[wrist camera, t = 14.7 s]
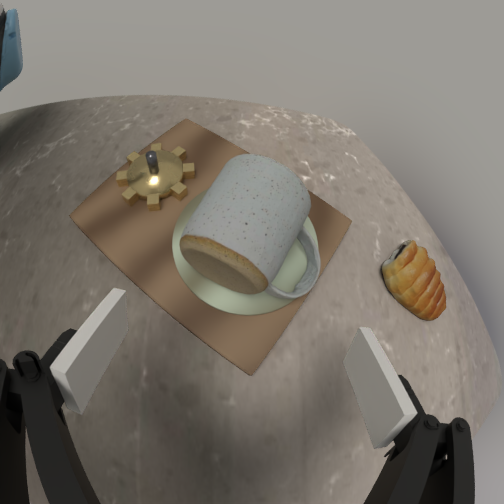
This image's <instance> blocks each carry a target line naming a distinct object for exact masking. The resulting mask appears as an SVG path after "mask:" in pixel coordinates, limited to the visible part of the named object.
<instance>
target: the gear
mask: <svg viewBox="0 0 504 504" xmlns="http://www.w3.org/2000/svg"><path fill="white" fill-rule="evenodd" d="M126 158H127V161H128V164H129V165H130V167H129V168H128V170H126V171H119V172H117V177H116V181H117V184H118V186H119V187H124V186H129V188H128V189H126V190H125V191H124V192H123V193H122V194H121V195H122V197H123V200H124V202H126V203H127V204H128V205H129V206H130V207H132V206H133V205H134V204H135V203H136V202H137V201H138V200H139V199H140V200H143V201H147V206H148V209H149V212H151V211H160V210H161V200H163V199H166V198H168V197H170V196H171V195H172V196H173V197H174V198H176V199H177V200H178V201H181V200H182V199H183V198H184V197H185V196H186V195H187V194H188V192H187V186H185V185H184V184H182V183H183V180H184V179H195V172H194V163H185V164H182V161H184V160H185V159H186V158H187V157H186V150H185V149H183V148H181V147H180V146H178V147H177V148H175V149H174V150H173V151H172V152H169V151H165V150H163V149H162V143H156V144H152V145H151V151H148V152H147V153H145V154H143V155H139V154H138V153H136V152H135V151H134V152H133V153H131V154H130V155H129V156H128V157H126Z"/></svg>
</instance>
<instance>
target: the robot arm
mask: <svg viewBox="0 0 504 504" xmlns="http://www.w3.org/2000/svg"><path fill="white" fill-rule="evenodd" d="M22 67H23V60H22V48H21V38H20V29H19V20H18V14H17V10H16V9H12V10H8V11H7V12H6V13H5V11H4V8H3V5H2V4H1V3H0V91H1V90H2V89H3V88H4V87H5V86H6V85H7V84H9V83H10V82H12V81H13V80H15V79H16V78H17V77H18V76H19V74H20V73H21V70H22ZM127 332H128V318H127V301H126V291H125V290H121V289H117V288H113V289H112V291H111V292H110V293H109V294H108V295H107V296H106V297H105V299H104V300H103V301H102V302H101V303H100V304H99V305H98V307H97V308H96V309H95V310H94V311H93V313H92V314H91V315H90V316H89V317H88V319H87V320H86V321H85V322H84V323H83V325H82V326H81V327H80V328H79V330H78V331H76V330H74V329H71V328H70V329H69V330H67V331H65V332H63V333H62V334H61V335H60V336H59V338H58V339H57V341H55V342H54V344H53V345H52V346H51V347H50V349H49V350H48V351H47V352H46V354H45V355H44V356H43V357H42V359H41V360H40V359H39V356H38V355H37V354H36V353H35V352H33V351H22V352H19V353H18V354H17V355H16V356H15V357H14V359H13V363H12V364H13V366H14V368H15V370H14V369H9V368H8V367H7V365H6V363H5V362H4V361H3V360H2V359H0V504H30V502H29V495H28V487H27V476H26V456H25V433H26V429H27V433H28V438H29V442H30V446H31V450H32V454H33V458H34V461H35V464H36V468H37V471H38V474H39V477H40V480H41V483H42V486H43V488H44V491H45V494H46V496H47V499H48V501H49V504H101V503H100V502H99V500H98V498H97V496H96V494H95V492H94V490H93V488H92V486H91V484H90V482H89V480H88V478H87V476H86V473H85V471H84V469H83V467H82V464H81V462H80V459H79V457H78V454H77V452H76V449H75V447H74V444H73V441H72V438H71V436H70V433H69V430H68V427H67V423H66V420H65V417H64V414H63V410H62V408H61V406H62V404H63V403H64V402H65V404H66V406H67V408H68V409H70V410H72V411H74V412H76V413H79V414H81V415H82V414H83V412H84V410H85V408H86V406H87V404H88V402H89V400H90V398H91V396H92V394H93V392H94V391H95V389H96V387H97V385H98V383H99V381H100V379H101V378H102V376H103V374H104V372H105V370H106V368H107V367H108V365H109V363H110V361H111V360H112V358H113V356H114V354H115V353H116V351H117V349H118V347H119V346H120V344H121V342H122V341H123V339H124V337H125V336H126V334H127ZM343 364H344V367H345V369H346V372H347V374H348V377H349V380H350V382H351V385H352V388H353V390H354V393H355V396H356V399H357V401H358V404H359V407H360V410H361V412H362V415H363V418H364V421H365V424H366V427H367V430H368V433H369V435H370V438H371V441H372V444H373V447H374V449H376V448H382V447H387V446H388V445H389V444H390V443H391V442H392V441H393V440H394V443H395V445H394V446H393V447H392V448H391V449H390V450H389V451H388V452H387V453H386V454H385V456H384V457H386V456H387V455H389V456H388V458H387V460H386V463H385V465H384V467H383V469H382V471H381V473H380V475H379V477H378V479H377V481H376V482H375V484H374V486H373V488H372V490H371V492H370V493H369V495H368V497H367V499H366V500H365V502H364V504H474V501H475V482H474V481H475V479H474V461H473V450H472V440H471V432H470V427H469V424H468V423H467V421H466V420H464V419H463V418H460V417H459V418H455V419H453V420H452V422H451V423H450V424H445V423H440V422H439V421H438V419H437V418H436V417H434V416H433V415H429V414H427V415H426V414H425V412H424V410H423V408H422V406H421V404H420V402H419V400H418V399H417V397H416V395H415V393H414V391H413V389H412V388H411V386H410V384H409V382H408V381H407V380H406V379H405V378H404V377H403V376H402V375H397V373H396V372H395V370H394V368H393V366H392V364H391V363H390V361H389V359H388V357H387V356H386V354H385V352H384V350H383V349H382V347H381V345H380V344H379V342H378V340H377V338H376V337H375V335H374V333H373V332H372V330H371V328H367V327H359V328H358V331H357V333H356V335H355V337H354V340H353V342H352V344H351V346H350V348H349V350H348V352H347V354H346V356H345V358H344V360H343ZM446 455H447V460H446Z"/></svg>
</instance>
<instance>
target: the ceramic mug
mask: <svg viewBox="0 0 504 504" xmlns="http://www.w3.org/2000/svg"><path fill="white" fill-rule="evenodd" d="M310 208H311V200H310V195H309V193H308V191H307V188H306V187H305V185H304V184H303V182H302V181H301V180H300V179H299V178H298V177H297V176H296V175H295V174H294V172H293V171H291V170H290V169H289V168H287V167H286V166H284V165H283V164H281V163H279V162H277V161H276V160H274V159H271V158H268V157H265V156H262V155H256V154H242V155H238V156H235V157H233V158H232V159H230V160H229V161H228V162H227V163H226V164H225V166H224V167H223V169H222V170H221V172H220V173H219V175H218V176H217V178H216V179H215V181H214V182H213V183H212V185H211V187H210V188H209V189H208V191H207V193H206V194H205V196H204V197H203V199H202V201H201V202H200V204H199V205H198V207H197V208H196V210H195V211H194V213H193V214H192V216H191V217H190V219H189V221H188V223H187V224H186V226H185V228H184V231H183V233H182V235H181V238H180V244H179V246H180V251H181V254H182V256H183V257H184V259H185V260H186V261H187V262H188V263H189V264H190V265H191V266H192V267H193V268H194V269H195V270H197V271H198V272H199V273H201V274H202V275H204V276H205V277H207V278H208V279H210V280H212V281H213V282H215V283H217V284H219V285H221V286H223V287H225V288H228V289H230V290H232V291H236V292H239V293H243V294H258V293H261V292H263V291H265V292H266V293H267V294H269V295H272V296H275V297H277V298H283V299H292V298H298V297H301V296H303V295H304V294H306V293H308V292H309V291H310V290H311V289H312V287H313V286H314V284H315V283H316V281H317V279H318V276H319V273H320V267H321V260H320V254H319V251H318V248H317V245H316V243H315V241H314V239H313V238H312V236H311V235H310V233H309V232H308V231H307V230H306V228H305V227H304V226H303V224H304V222H305V220H306V218H307V216H308V214H309V211H310ZM296 237H297V239H298V240H299V241H300V243H301V244H302V246H303V248H304V250H305V253H306V256H307V269H306V271H305V273H304V275H303V277H302V279H301V280H300V282H299V283H298V284H296V286H295V289H294V291H293V292H288V293H286V292H285V291H282V290H280V289H278V288H277V287H275V286H273V285H272V284H271V282H272V281H273V280H274V278H275V277H276V275H277V274H278V272H279V270H280V268H281V266H282V264H283V262H284V260H285V258H286V256H287V254H288V252H289V250H290V248H291V246H292V245H293V243H294V241H295V239H296Z"/></svg>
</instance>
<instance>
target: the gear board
mask: <svg viewBox="0 0 504 504" xmlns="http://www.w3.org/2000/svg"><path fill="white" fill-rule="evenodd" d="M156 143H162V149H163V150H165V151H169V152H172V151H173V150H174V149H175V148H177V147H178V146H180V147H181V148H183V149H185V150H186V157H187V158H186V159H185V160H184V161H182V164H185V163H194V172H195V179H184V180H183V183H182V184H184V185H185V186H187V192H188V194H187V195H186V196H185V197H184V198H183V199H182V200H181V201H178V200H177V199H176V198H174V197H173V196H172V195H171V196H170V197H168V198H166V199H163V200H161V210H160V211H151V212H149V209H148V206H147V201H143V200H140V199H139V200H138V201H137V202H136V203H135V204H134V205H133V206H132V207H130V206H129V205H128V204H127V203H126V202H124V200H123V197H122V195H121V194H122V193H123V192H124V191H125V190H126V189H128V188H129V186H124V187H119V186H118V184H117V181H116V177H117V172H119V171H126V170H128V168H129V167H130V165H129V164H128V162H127V163H125V164H124V165H123V166H122V167H121V168H119V169H118V170H117V171H116V172H115V173H114V174H112V175H111V176H110V177H109V178H108V179H107V180H106V181H104V182H103V183H102V184H101V185H100V186H99V187H98V188H97V189H96V190H95V191H94V192H93V193H91V194H90V195H89V196H88V197H87V198H86V199H85V200H84V201H83V202H82V203H81V204H80V205H79V206H78V207H77V208H76V209H75V210H74V211H73V212H72V213H71V214H70V215H69V216H70V218H71V219H72V220H73V222H74V223H75V224H76V225H77V226H78V227H79V228H80V229H81V231H82V232H83V233H84V234H85V235H86V236H87V237H88V238H89V239H90V240H91V241H92V242H93V243H94V244H95V245H96V246H97V247H98V248H99V250H100V251H101V252H102V253H103V254H104V255H105V256H106V257H107V258H108V259H109V260H110V261H111V262H112V263H113V264H114V265H115V266H117V267H118V268H119V269H120V270H121V271H122V272H123V273H124V274H125V275H126V276H127V277H128V278H129V279H130V280H131V281H132V282H133V283H134V284H135V285H137V286H138V287H139V288H140V289H141V290H142V291H143V292H144V293H145V294H146V295H148V296H149V297H150V298H151V299H152V300H153V301H154V302H156V303H157V304H158V305H159V306H160V307H161V308H162V309H164V310H165V311H166V312H167V313H168V314H170V315H171V316H172V317H173V318H174V319H175V320H177V321H178V322H179V323H180V324H182V325H183V326H184V327H185V328H186V329H188V330H189V331H190V332H191V333H193V334H194V335H195V336H197V337H198V338H199V339H200V340H202V341H203V342H204V343H206V344H207V345H208V346H209V347H211V348H212V349H213V350H215V351H216V352H217V353H219V354H220V355H221V356H223V357H224V358H226V359H227V360H228V361H230V362H231V363H232V364H234V365H235V366H237V367H238V368H239V369H241V370H242V371H244V372H245V373H247V374H248V375H250V376H252V375H253V373H254V372H255V370H256V369H257V368H258V366H259V365H260V364H261V362H262V361H263V360H264V358H265V357H266V355H267V354H268V353H269V351H270V350H271V348H272V347H273V346H274V344H275V343H276V341H277V340H278V338H279V337H280V336H281V334H282V333H283V331H284V330H285V328H286V327H287V325H288V324H289V322H290V321H291V320H292V318H293V317H294V315H295V314H296V312H297V311H298V309H299V308H300V306H301V304H302V303H303V301H304V300H305V298H306V297H307V295H308V294H309V292H310V291H311V290H310V291H309V292H308V293H306V294H304V295H303V296H301V297H298V298H292V299H283V298H277V297H275V296H272V295H269V294H267V293H266V292H265V291H263V292H261V293H258V294H243V293H239V292H236V291H232V290H230V289H228V288H225V287H223V286H221V285H219V284H217V283H215V282H213V281H212V280H210V279H208V278H207V277H205V276H204V275H202V274H201V273H199V272H198V271H197V270H195V269H194V268H193V267H192V266H191V265H190V264H189V263H188V262H187V261H186V260H185V259H184V257H183V256H182V254H181V251H180V246H179V244H180V238H181V235H182V233H183V231H184V228H185V226H186V224H187V223H188V221H189V219H190V217H191V216H192V214H193V213H194V211H195V210H196V208H197V207H198V205H199V204H200V202H201V201H202V199H203V197H204V196H205V194H206V193H207V191H208V189H209V188H210V187H211V185H212V183H213V182H214V181H215V179H216V178H217V176H218V175H219V173H220V172H221V170H222V169H223V167H224V166H225V164H226V163H227V162H228V161H229V160H230V159H232V158H233V157H235V156H238V155H242V154H250V153H248V152H246V151H245V150H243V149H241V148H240V147H238V146H236V145H234V144H233V143H231V142H229V141H227V140H225V139H224V138H222V137H220V136H218V135H216V134H215V133H213V132H211V131H209V130H207V129H205V128H203V127H202V126H200V125H198V124H196V123H194V122H192V121H190V120H188V119H184V120H183V121H181V122H180V123H178V124H177V125H175V126H174V127H173V128H171V129H170V130H168V131H167V132H165V133H164V134H163V135H161V136H160V137H159V138H157V139H156V140H155V141H153V142H152V143H151V144H149V145H148V146H147V147H145V148H144V149H143V150H141V151H140V152H139V153H138V154H139V155H143V154H145V153H147V152H148V151H151V145H152V144H156ZM307 191H308V193H309V195H310V200H311V208H310V211H309V214H308V216H307V218H306V220H305V222H304V224H303V226H304V227H305V228H306V230H307V231H308V232H309V233H310V235H311V236H312V238H313V239H314V241H315V243H316V245H317V248H318V251H319V254H320V260H321V267H320V273H319V276H320V275H321V273H322V272H323V270H324V268H325V267H326V265H327V263H328V262H329V260H330V258H331V257H332V255H333V253H334V252H335V250H336V248H337V247H338V245H339V243H340V242H341V240H342V238H343V236H344V235H345V233H346V231H347V230H348V228H349V226H350V224H351V223H352V221H351V220H350V219H349V218H347V217H346V216H345V215H343V214H342V213H340V212H339V211H338V210H336V209H335V208H333V207H332V206H331V205H329V204H328V203H326V202H325V201H323V200H322V199H320V198H319V197H318V196H316V195H315V194H313V193H312V192H310V191H309V190H307ZM306 269H307V256H306V253H305V250H304V248H303V246H302V244H301V243H300V241H299V240H298V239H297V237H296V239H295V241H294V243H293V245H292V246H291V248H290V250H289V252H288V254H287V256H286V258H285V260H284V262H283V264H282V266H281V268H280V270H279V272H278V274H277V275H276V277H275V278H274V280H273V281H272V282H271V284H272V285H273V286H275V287H277V288H278V289H280V290H282V291H285V292H286V293H288V292H293V291H294V289H295V286H296V284H298V283H299V282H300V280H301V279H302V277H303V275H304V273H305V271H306ZM319 276H318V278H319ZM317 280H318V279H317Z"/></svg>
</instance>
